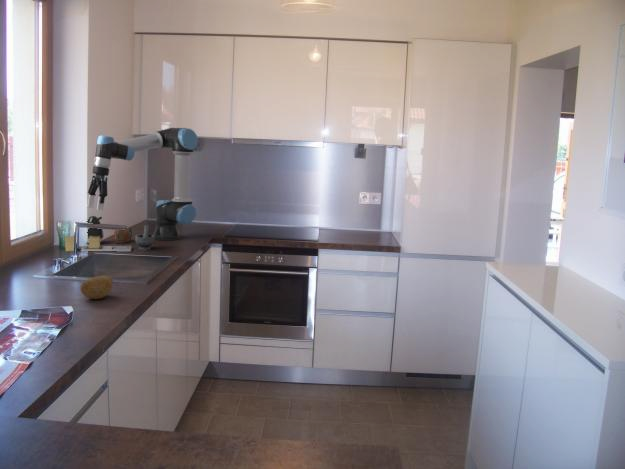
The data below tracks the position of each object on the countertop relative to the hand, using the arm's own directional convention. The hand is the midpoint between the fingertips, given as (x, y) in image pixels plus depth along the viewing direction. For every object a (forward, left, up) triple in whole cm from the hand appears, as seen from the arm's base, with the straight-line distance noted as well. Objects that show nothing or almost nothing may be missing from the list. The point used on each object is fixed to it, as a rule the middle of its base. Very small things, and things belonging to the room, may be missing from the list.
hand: (94, 209), depth 277 cm
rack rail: (-5, -8, -22) cm, 24 cm away
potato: (-8, +84, -22) cm, 88 cm away
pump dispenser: (+3, -27, -22) cm, 35 cm away
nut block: (+12, -8, -22) cm, 27 cm away
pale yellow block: (+1, -8, -22) cm, 24 cm away
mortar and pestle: (-24, -11, -22) cm, 34 cm away
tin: (-12, -30, -22) cm, 39 cm away
